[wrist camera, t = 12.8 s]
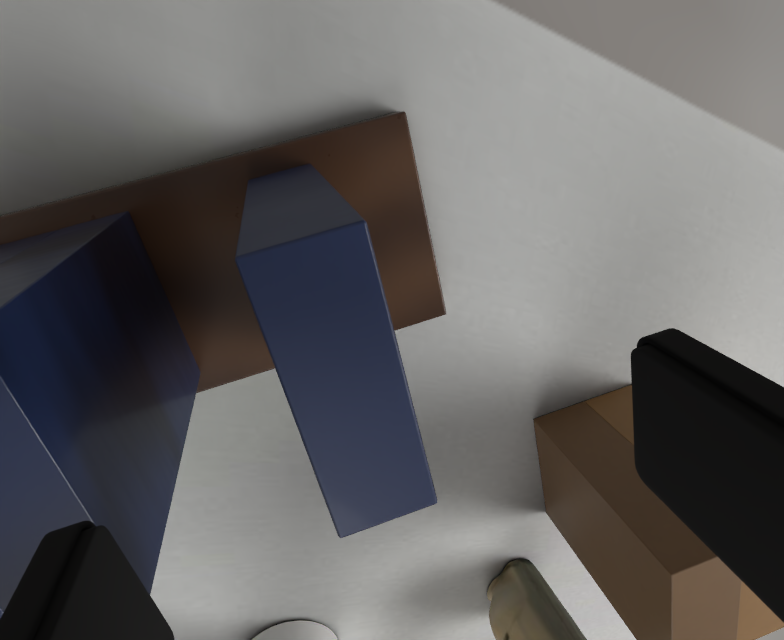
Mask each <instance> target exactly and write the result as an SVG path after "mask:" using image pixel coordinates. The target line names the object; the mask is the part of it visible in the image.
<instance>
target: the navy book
mask: <svg viewBox="0 0 784 640" xmlns="http://www.w3.org/2000/svg"><path fill="white" fill-rule="evenodd" d="M235 262H236V265H237V267H238V270H239V273H240V275H241V278H242V281H243V283H244V286H245V289H246V291H247V294H248V297H249V299H250V302H251V305H252V307H253V310H254V313H255V315H256V318H257V321H258V323H259V326H260V329H261V331H262V334H263V337H264V339H265V342H266V345H267V347H268V350H269V353H270V355H271V358H272V361H273V363H274V366H275V369H276V371H277V374H278V377H279V379H280V382H281V385H282V387H283V390H284V393H285V395H286V398H287V401H288V403H289V406H290V409H291V411H292V414H293V417H294V419H295V422H296V425H297V427H298V430H299V433H300V435H301V438H302V441H303V443H304V446H305V449H306V451H307V454H308V457H309V459H310V462H311V465H312V467H313V470H314V473H315V475H316V478H317V481H318V483H319V486H320V489H321V491H322V494H323V497H324V499H325V502H326V505H327V507H328V510H329V513H330V515H331V518H332V521H333V523H334V526H335V529H336V531H337V534H338V536H339V537H340V538H343V537H345V536H348V535H351V534H354V533H357V532H359V531H362V530H365V529H368V528H370V527H373V526H376V525H379V524H381V523H384V522H387V521H390V520H392V519H395V518H398V517H401V516H403V515H406V514H409V513H412V512H414V511H417V510H420V509H423V508H425V507H428V506H431V505H434V504H436V503H437V497H436V493H435V489H434V485H433V481H432V478H431V474H430V470H429V466H428V462H427V458H426V454H425V450H424V446H423V442H422V438H421V434H420V430H419V426H418V422H417V418H416V415H415V411H414V407H413V403H412V399H411V395H410V391H409V387H408V383H407V379H406V375H405V371H404V367H403V363H402V359H401V355H400V351H399V348H398V344H397V340H396V336H395V332H394V328H393V324H392V320H391V316H390V312H389V308H388V304H387V300H386V296H385V292H384V288H383V285H382V281H381V277H380V273H379V269H378V265H377V261H376V257H375V253H374V249H373V245H372V241H371V237H370V233H369V229H368V225H367V222H366V221H365V220H364V219H363V218H362V217H361V216H360V215H359V213H358V212H357V211H356V210H355V209H354V208H353V207H352V206H351V205H350V204H349V203H348V202H347V201H346V200H345V199H344V198H343V197H342V196H341V195H340V194H339V193H338V192H337V191H336V190H335V189H334V187H333V186H332V185H331V184H330V183H329V182H328V181H327V180H326V179H325V178H324V177H323V176H322V175H321V174H320V173H319V172H318V171H317V170H316V169H315V168H314V167H313V166H312V165H311V164H305V165H302V166H298V167H294V168H291V169H287V170H283V171H279V172H276V173H272V174H268V175H265V176H261V177H257V178H253V179H250V180H248V185H247V191H246V196H245V202H244V208H243V214H242V220H241V226H240V232H239V238H238V244H237V250H236V255H235Z"/></svg>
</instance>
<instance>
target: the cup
mask: <svg viewBox="0 0 784 640" xmlns="http://www.w3.org/2000/svg"><path fill="white" fill-rule="evenodd" d="M252 640H337V637H336V636H335V634H334V633H333V632H332V630H330V629H329V628H327V627H326V626H324V625H322V624H319V623H316V622H313V621H301V620H299V621H291V622H285V623H281V624H278V625H275V626H272V627H270V628H268V629H267V630H265V631H263V632H261V633H260V634H258V635H257V636H256V637H255V638H253V639H252Z"/></svg>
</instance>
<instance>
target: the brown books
mask: <svg viewBox="0 0 784 640" xmlns="http://www.w3.org/2000/svg"><path fill="white" fill-rule="evenodd" d="M533 420H534V427H535V434H536V442H537V449H538V456H539V464H540V471H541V478H542V485H543V493H544V500H545V507H546V513H547V514H548V516H549V517H550V519H551V520H552V522H553V523H554V524H555V526H556V527H557V529H558V530H559V531H560V533H561V534H562V536H563V537H564V538H565V540H566V541H567V543H568V544H569V545H570V547H571V548H572V550H573V551H574V552H575V554H576V555H577V557H578V558H579V559H580V561H581V562H582V564H583V565H584V566H585V568H586V569H587V571H588V572H589V573H590V575H591V576H592V578H593V579H594V580H595V582H596V583H597V585H598V586H599V587H600V589H601V590H602V592H603V593H604V594H605V596H606V597H607V599H608V600H609V602H610V603H611V604H612V606H613V607H614V609H615V610H616V611H617V613H618V614H619V616H620V617H621V618H622V620H623V621H624V623H625V624H626V625H627V627H628V628H629V630H630V631H631V632H632V634H633V635H634V637H635V638H636V639H637V640H755V639H757V638H760V637H762V636H764V635H767V634H769V633H771V632H774V631H776V630H778V629H781V628H783V627H784V623H783V622H782V621H781V620H780V619H779V618H778V617H777V616H776V615H775V614H774V613H773V612H772V611H771V610H770V609H769V608H768V607H767V606H766V605H765V604H764V603H763V602H762V601H761V600H760V599H759V598H758V597H757V596H756V595H755V594H754V593H753V592H752V591H751V590H750V589H749V588H748V587H747V586H746V585H745V584H744V583H743V582H742V581H741V580H740V579H739V578H738V577H737V576H736V575H735V574H734V573H733V572H732V571H731V570H730V569H729V568H728V567H727V566H726V565H725V564H724V563H723V562H722V561H721V560H720V559H719V558H718V557H717V556H716V555H715V554H714V553H713V552H712V551H711V550H710V549H709V548H708V547H707V546H706V545H705V544H704V543H703V542H702V541H701V540H700V539H699V538H698V537H697V536H696V535H695V534H694V533H693V532H692V531H691V530H690V529H689V528H688V527H687V526H686V525H685V524H684V523H683V522H682V521H681V520H680V519H679V518H678V517H677V516H676V515H675V514H674V513H673V512H672V511H671V510H670V509H669V508H668V507H667V506H666V505H665V504H664V503H663V502H662V501H661V500H660V499H659V498H658V497H657V496H656V495H655V494H654V493H653V492H652V491H651V490H650V489H649V488H648V487H647V486H646V485H645V483H644V482H643V481H642V480H641V478H640V477H639V475H638V473H637V470H636V467H635V458H634V430H633V403H632V385H629V386H626V387H623V388H621V389H618V390H615V391H612V392H609V393H606V394H603V395H601V396H598V397H595V398H592V399H589V400H586V401H584V402H581V403H578V404H575V405H572V406H569V407H566V408H563V409H561V410H558V411H555V412H552V413H549V414H546V415H543V416H541V417H538V418H535V419H533Z"/></svg>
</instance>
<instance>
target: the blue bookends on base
mask: <svg viewBox="0 0 784 640" xmlns="http://www.w3.org/2000/svg"><path fill="white" fill-rule="evenodd" d="M305 164H311V165H312V166H313V167H314V168H315V169H316V170H317V171H318V172H319V173H320V174H321V175H322V176H323V177H324V178H325V179H326V180H327V181H328V182H329V183H330V184H331V185H332V186H333V187H334V189H335V190H336V191H337V192H338V193H339V194H340V195H341V196H342V197H343V198H344V199H345V200H346V201H347V202H348V203H349V204H350V205H351V206H352V207H353V208H354V209H355V210H356V211H357V212H358V213H359V215H360V216H361V217H362V218H363V219H364V220H365V221H366V222H367V225H368V229H369V233H370V237H371V241H372V245H373V249H374V253H375V257H376V261H377V265H378V269H379V273H380V277H381V281H382V285H383V288H384V292H385V296H386V300H387V304H388V308H389V312H390V316H391V320H392V324H393V328H394V330H398V329H401V328H404V327H407V326H410V325H413V324H417V323H420V322H423V321H426V320H429V319H432V318H436V317H439V316H442V315H445V314H446V309H445V304H444V300H443V295H442V290H441V285H440V280H439V275H438V270H437V265H436V260H435V255H434V250H433V245H432V240H431V235H430V230H429V226H428V221H427V216H426V211H425V206H424V201H423V196H422V191H421V186H420V181H419V176H418V171H417V166H416V161H415V156H414V152H413V147H412V142H411V137H410V132H409V127H408V122H407V117H406V113H405V112H394V113H390V114H386V115H383V116H379V117H375V118H371V119H367V120H363V121H360V122H356V123H352V124H348V125H344V126H341V127H337V128H333V129H329V130H325V131H321V132H318V133H314V134H310V135H306V136H302V137H298V138H295V139H291V140H287V141H283V142H279V143H276V144H272V145H268V146H264V147H260V148H256V149H253V150H249V151H245V152H241V153H237V154H234V155H230V156H226V157H222V158H218V159H214V160H211V161H207V162H203V163H199V164H195V165H192V166H188V167H184V168H180V169H176V170H172V171H169V172H165V173H161V174H157V175H153V176H150V177H146V178H142V179H138V180H134V181H130V182H127V183H123V184H119V185H115V186H111V187H107V188H104V189H100V190H96V191H92V192H88V193H85V194H81V195H77V196H73V197H69V198H65V199H62V200H58V201H54V202H50V203H46V204H43V205H39V206H35V207H31V208H27V209H23V210H20V211H16V212H12V213H8V214H4V215H1V216H0V619H1V617H2V615H3V613H4V611H5V609H6V607H7V605H8V603H9V601H10V599H11V597H12V596H13V594H14V592H15V590H16V588H17V586H18V584H19V582H20V580H21V578H22V576H23V574H24V573H25V571H26V569H27V567H28V565H29V563H30V561H31V559H32V557H33V555H34V553H35V552H36V550H37V548H38V546H39V544H40V542H41V540H42V539H43V537H44V536H45V535H46V534H47V533H49V532H51V531H54V530H57V529H60V528H63V527H67V526H70V525H73V524H76V523H79V522H82V521H91V522H92V523H94V524H95V526H99V525H103V526H105V527H106V528H107V529H108V530H109V531H110V533H111V535H112V536H113V538H114V539H115V541H116V542H117V544H118V546H119V547H120V549H121V550H122V552H123V554H124V555H125V557H126V558H127V560H128V561H129V563H130V565H131V566H132V568H133V569H134V571H135V573H136V574H137V576H138V577H139V579H140V580H141V582H142V584H143V585H144V587H145V588H146V590H147V592H148V593H149V595H150V593H151V589H152V584H153V580H154V576H155V571H156V567H157V562H158V558H159V554H160V549H161V545H162V540H163V536H164V532H165V527H166V523H167V518H168V514H169V510H170V505H171V501H172V496H173V492H174V488H175V483H176V479H177V474H178V470H179V466H180V461H181V457H182V452H183V448H184V444H185V439H186V435H187V430H188V426H189V422H190V417H191V413H192V408H193V404H194V399H195V395H196V393H198V392H201V391H205V390H208V389H211V388H214V387H217V386H220V385H224V384H227V383H230V382H233V381H236V380H239V379H243V378H246V377H249V376H252V375H255V374H258V373H262V372H265V371H268V370H271V369H274V368H275V366H274V363H273V361H272V358H271V355H270V353H269V350H268V347H267V345H266V342H265V339H264V337H263V334H262V331H261V329H260V326H259V323H258V321H257V318H256V315H255V313H254V310H253V307H252V305H251V302H250V299H249V297H248V294H247V291H246V289H245V286H244V283H243V281H242V278H241V275H240V273H239V270H238V267H237V265H236V262H235V255H236V250H237V244H238V238H239V232H240V226H241V220H242V214H243V208H244V202H245V196H246V191H247V185H248V180H250V179H253V178H257V177H261V176H265V175H268V174H272V173H276V172H279V171H283V170H287V169H291V168H294V167H298V166H302V165H305Z"/></svg>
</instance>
